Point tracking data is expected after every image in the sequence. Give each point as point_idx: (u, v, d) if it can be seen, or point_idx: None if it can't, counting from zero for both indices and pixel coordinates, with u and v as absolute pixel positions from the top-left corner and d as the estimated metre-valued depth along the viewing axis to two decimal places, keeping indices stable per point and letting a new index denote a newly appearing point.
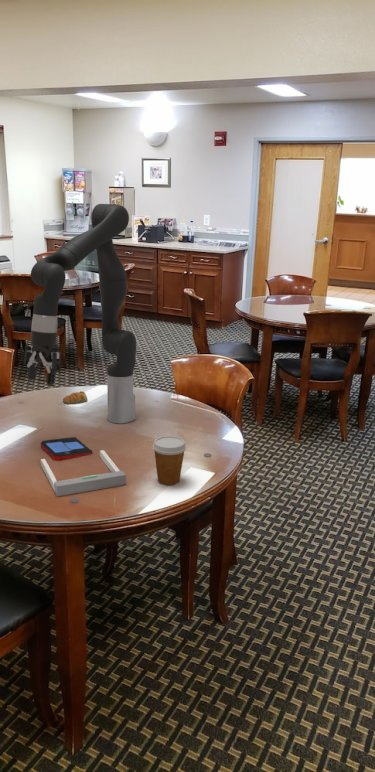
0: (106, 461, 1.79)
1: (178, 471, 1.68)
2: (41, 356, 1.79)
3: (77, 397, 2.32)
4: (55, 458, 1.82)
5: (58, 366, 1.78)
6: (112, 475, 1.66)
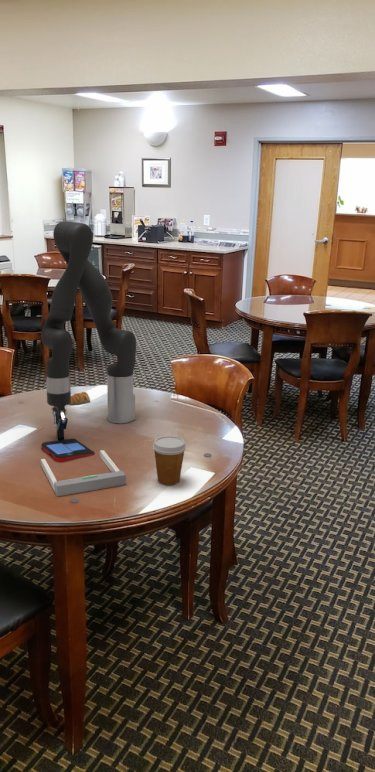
0: (106, 461, 1.79)
1: (178, 471, 1.68)
2: (54, 414, 1.91)
3: (80, 398, 2.31)
4: (58, 460, 1.81)
5: (64, 426, 1.91)
6: (112, 475, 1.66)
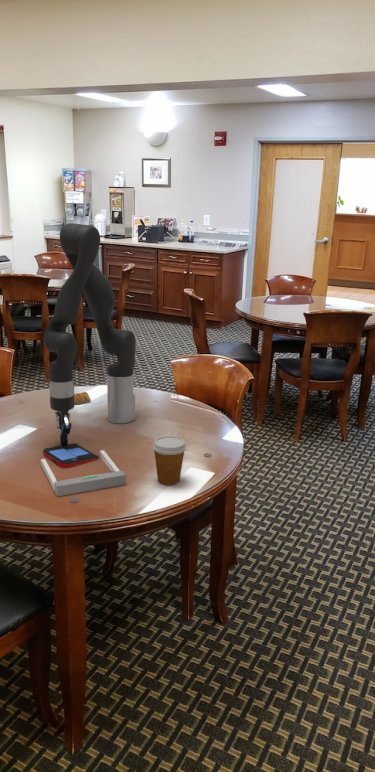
0: (106, 461, 1.79)
1: (178, 471, 1.68)
2: (57, 419, 1.87)
3: (80, 398, 2.31)
4: (63, 466, 1.77)
5: (68, 431, 1.87)
6: (112, 475, 1.66)
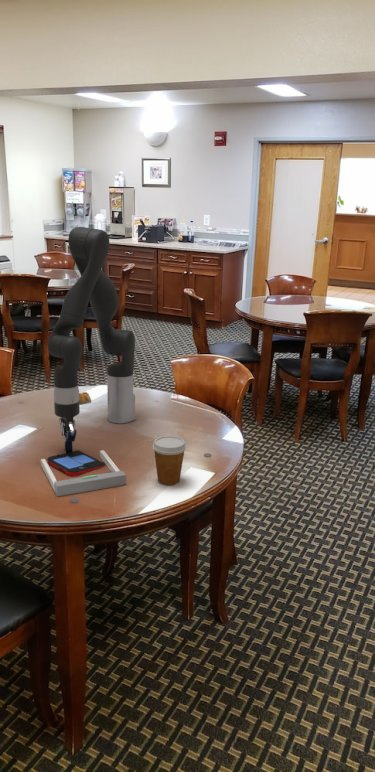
0: (106, 461, 1.79)
1: (178, 471, 1.68)
2: (62, 426, 1.81)
3: (81, 398, 2.31)
4: (70, 474, 1.72)
5: (73, 438, 1.82)
6: (112, 475, 1.66)
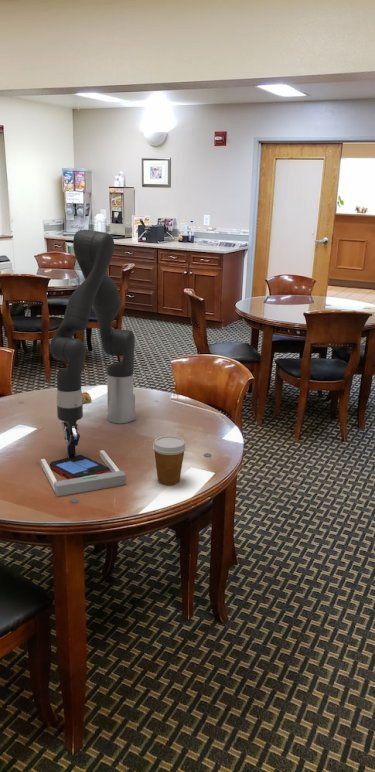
0: (106, 461, 1.79)
1: (178, 471, 1.68)
2: (65, 430, 1.78)
3: (82, 398, 2.31)
4: None
5: None
6: (112, 475, 1.66)
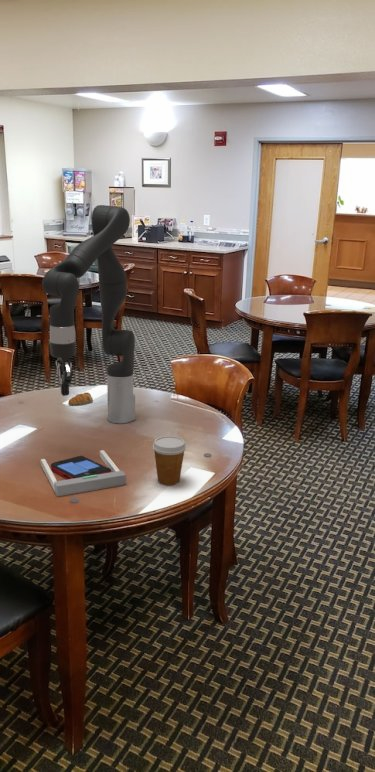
0: (106, 461, 1.79)
1: (178, 471, 1.68)
2: (58, 367, 1.78)
3: (83, 398, 2.31)
4: None
5: (69, 379, 1.78)
6: (112, 475, 1.66)
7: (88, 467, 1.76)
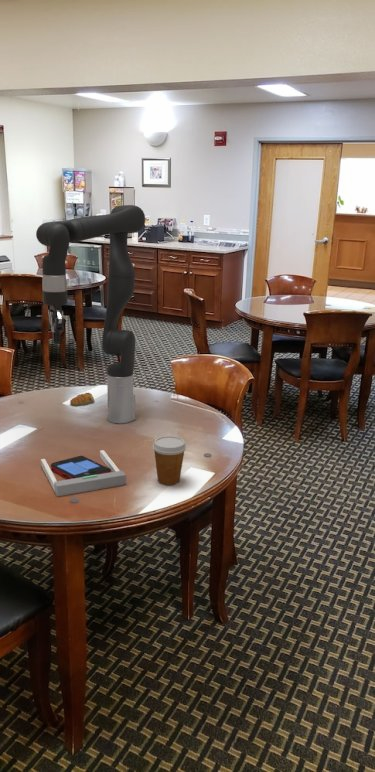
0: (106, 461, 1.79)
1: (178, 471, 1.68)
2: (50, 315, 1.86)
3: (85, 398, 2.30)
4: None
5: (61, 327, 1.87)
6: (112, 475, 1.66)
7: (88, 467, 1.76)
